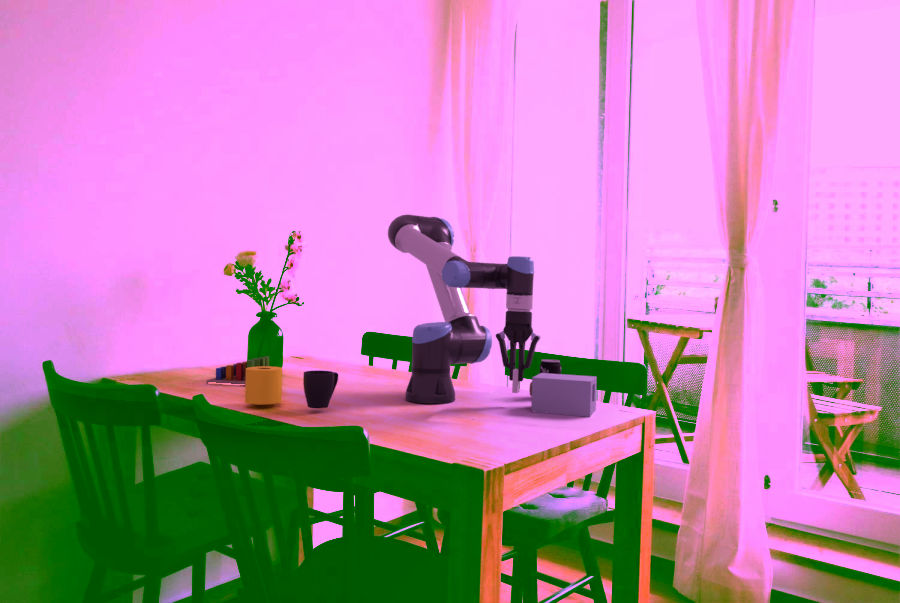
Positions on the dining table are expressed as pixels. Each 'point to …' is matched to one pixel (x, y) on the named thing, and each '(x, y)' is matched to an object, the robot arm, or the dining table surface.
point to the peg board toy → (237, 371)
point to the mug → (319, 387)
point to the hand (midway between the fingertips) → (515, 392)
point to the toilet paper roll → (263, 385)
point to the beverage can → (550, 366)
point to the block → (564, 394)
